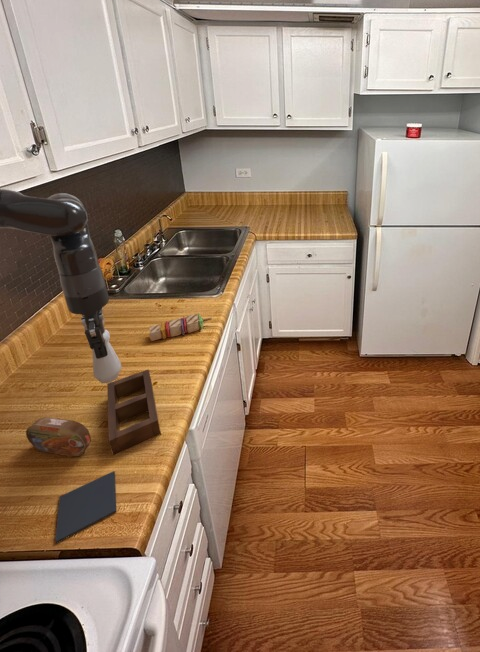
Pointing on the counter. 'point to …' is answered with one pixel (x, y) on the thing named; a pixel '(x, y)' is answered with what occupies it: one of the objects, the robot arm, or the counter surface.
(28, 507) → the counter surface
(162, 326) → the skewer
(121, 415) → the rack
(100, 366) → the salt shaker
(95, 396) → the counter surface
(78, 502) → the mat
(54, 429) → the tin
